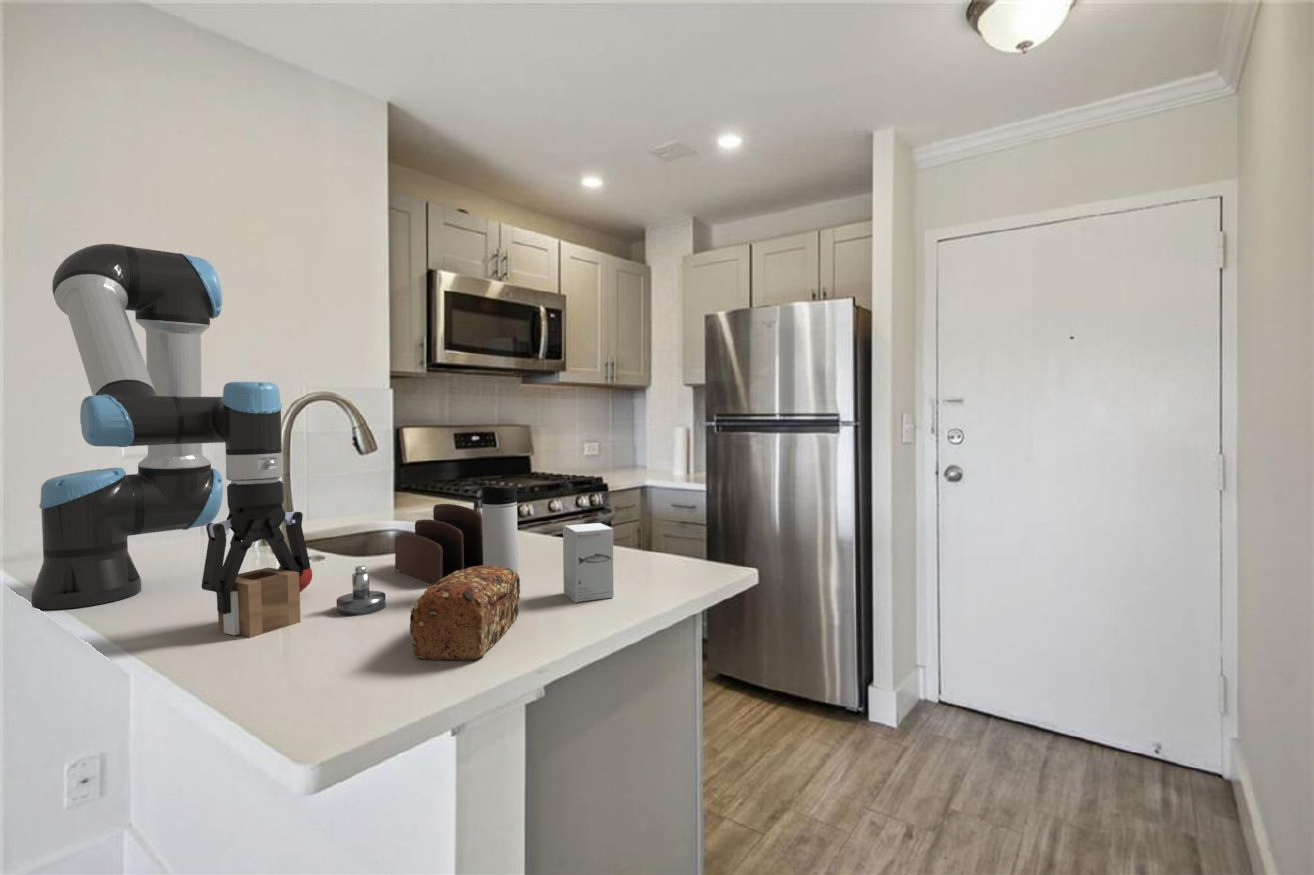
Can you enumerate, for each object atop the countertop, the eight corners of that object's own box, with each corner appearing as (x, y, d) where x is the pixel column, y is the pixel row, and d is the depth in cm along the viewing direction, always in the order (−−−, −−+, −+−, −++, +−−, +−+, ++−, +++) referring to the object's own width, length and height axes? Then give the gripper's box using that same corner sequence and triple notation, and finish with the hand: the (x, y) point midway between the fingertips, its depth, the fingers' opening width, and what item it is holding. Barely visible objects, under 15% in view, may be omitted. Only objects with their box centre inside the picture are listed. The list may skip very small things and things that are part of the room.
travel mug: (475, 595, 118) (473, 486, 117) (497, 586, 124) (495, 482, 123) (504, 598, 115) (502, 487, 115) (525, 589, 121) (523, 483, 121)
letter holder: (438, 563, 144) (436, 500, 144) (486, 578, 131) (485, 508, 130) (394, 571, 137) (392, 505, 137) (440, 588, 124) (438, 514, 123)
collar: (218, 629, 100) (216, 578, 100) (269, 615, 107) (268, 567, 107) (249, 637, 97) (248, 584, 96) (300, 621, 104) (298, 572, 103)
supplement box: (574, 603, 112) (573, 531, 111) (562, 593, 119) (561, 524, 118) (614, 598, 115) (613, 527, 114) (601, 588, 122) (600, 521, 121)
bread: (483, 664, 86) (481, 589, 85) (405, 662, 87) (403, 588, 86) (523, 619, 104) (522, 557, 104) (459, 618, 105) (458, 557, 105)
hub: (326, 612, 109) (325, 569, 108) (365, 600, 115) (364, 560, 115) (357, 618, 105) (356, 574, 105) (395, 605, 112) (394, 564, 112)
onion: (296, 601, 115) (294, 556, 115) (268, 600, 116) (267, 555, 116) (319, 592, 121) (318, 550, 120) (292, 591, 122) (291, 549, 122)
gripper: (195, 489, 90) (202, 650, 91) (332, 475, 109) (336, 609, 110) (166, 487, 93) (173, 642, 94) (303, 474, 112) (308, 603, 113)
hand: (261, 624), depth 102 cm, fingers open, 8 cm apart
